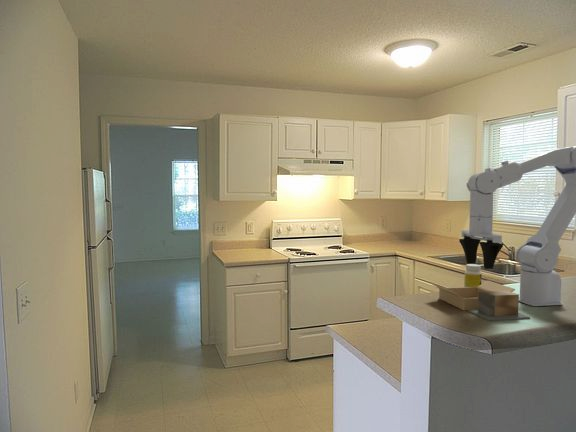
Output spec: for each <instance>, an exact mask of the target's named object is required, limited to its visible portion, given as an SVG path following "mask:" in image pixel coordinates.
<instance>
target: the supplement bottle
mask: <svg viewBox="0 0 576 432" xmlns="http://www.w3.org/2000/svg"><path fill="white" fill-rule="evenodd" d="M481 267H482V266H481V265H480V264H476V263H475V264H467V263H466V264H465V271H464V279H463V280H464V281H463V282H464V283H463V287H478V286H479V285H481V284H482V275H483V274H482V271H481V270H482V269H481Z"/></svg>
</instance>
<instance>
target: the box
mask: <svg viewBox="0 0 576 432" xmlns="http://www.w3.org/2000/svg"><path fill="white" fill-rule="evenodd" d="M519 297H520V293H515V292H514V291H513V292H510V291H488V292H479V297H478V312H480V313H482V314H484V315H486V316H508V315H518V312H519V306H520V305H519V303H520V301H519Z"/></svg>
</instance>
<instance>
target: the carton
mask: <svg viewBox="0 0 576 432" xmlns="http://www.w3.org/2000/svg"><path fill="white" fill-rule="evenodd" d="M430 284H431V285H433V287H436V288H438V289H439V292H438V294H439V295H438V299H439V300H441V301H443V302H445V303H448V304H450V305H452V306H454V307H456V308H459V309H461V310H462V311H468V310H474V309H478V297H479V292H488V291H510V292H513V293H514V292H515V290H516V289H515V288H513V287H510V286H507V285H505V284H500V283H498V282H494V281H491V280H486V281H484V282H483V283H482V282H481V285H479V286H478V287H464V286H461V287H443V286H441V285H439V284H436V283H433V282H430Z"/></svg>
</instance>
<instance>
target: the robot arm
mask: <svg viewBox="0 0 576 432" xmlns="http://www.w3.org/2000/svg"><path fill="white" fill-rule="evenodd" d="M500 163H501V164H499V165H497V166H494V167H492V168H490V167H486V168H485V169H484V172H477V173H476V172H475V173H473V174H472V175H471V176H470V177H469V178H468V180H467V182H466V188H467V190H468V191H469V194H470V197H469V222H468V223H469V226H468V227H469V228H468V230H464V229H463V230H461V238H459V239H458V240H459V241H458V242H459V243H460V244H461V247H462V249H463V252H464V253H463V254H464V257H465V261H466V265H467V264H476V262H477V261H476V260H477V253H478V248H479V246H480V247H481V251H482V256H483V257H482V258H483V259H482V260H483V268H484V269H486V270H493V269H494V266H495V263H496V260H497V257H498V255H499V253H500V251H501V249H502V248H503V247H504V243H503V241H502V240H503V238H502V237H503V235H501V234H497V233H494V232H493V223H494V222H493V219H494V218H493V216H494V214H493V213H494V193H495V192H496V191H497V189H500V188H503V187H506V186H509V185H511V184H513V183H516V182H519V181H520V180H521V179H522V177H523V175H524V174H527V173H531V172H534V171H536V170H539V169H543V168H545V167H551V168H552V167H554V168H555V170H556V171H557V173H558V174H559V175H560V176H561V177H562V178H563V179H564V181H565V186H564V188H563V189H562V191H561V193H560V194H559V196H558V197H557V199H556V201H555V202H554V204H553V206H552V207H551V209H550V211H549V212H548V214H547V216H546V218H544V221H543V222H542V224H541V226H540V228H539V229H538V231H537V232H536V233H534V234H533V235H532V236H530V237H528V238H527V240H526V242H525V243H524V244H523V245H521V246H519V247H518V248H517V251H516V253H515V256H516V260H517V262H518V263H519V264H520V266H519V267H520V278H519V281H520V282H519V303H522V304H526V305H528V306H531V307H541V306H542V307H543V306H545V307H546V306H561V305H564V302H562V301H561V299H562V297H561V296H562V278H561V276H560V274H559V273H558V272H557V271H556V270H554V269H555V268H556V266H557V265H558V261H559V255H560V253H561V251H562V248H561V245H560V244H559V241H560V240H561V238H562V237H563V235H564V233H565V231H566V230H567V229H568V227H569V225H570V223H571V222H572V220H573V219H574V217H575V215H576V145H574V146H568V147H559V148H556V149H552V150H547V151H545V152H542V153H540V154H537V155H534V156H532V157H529V158H527V159H525V160H523V161H521V162H519V163H518V162H516V161H513V160H512V161H511V160H510V161H509V160H504V161H501V162H500Z"/></svg>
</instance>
